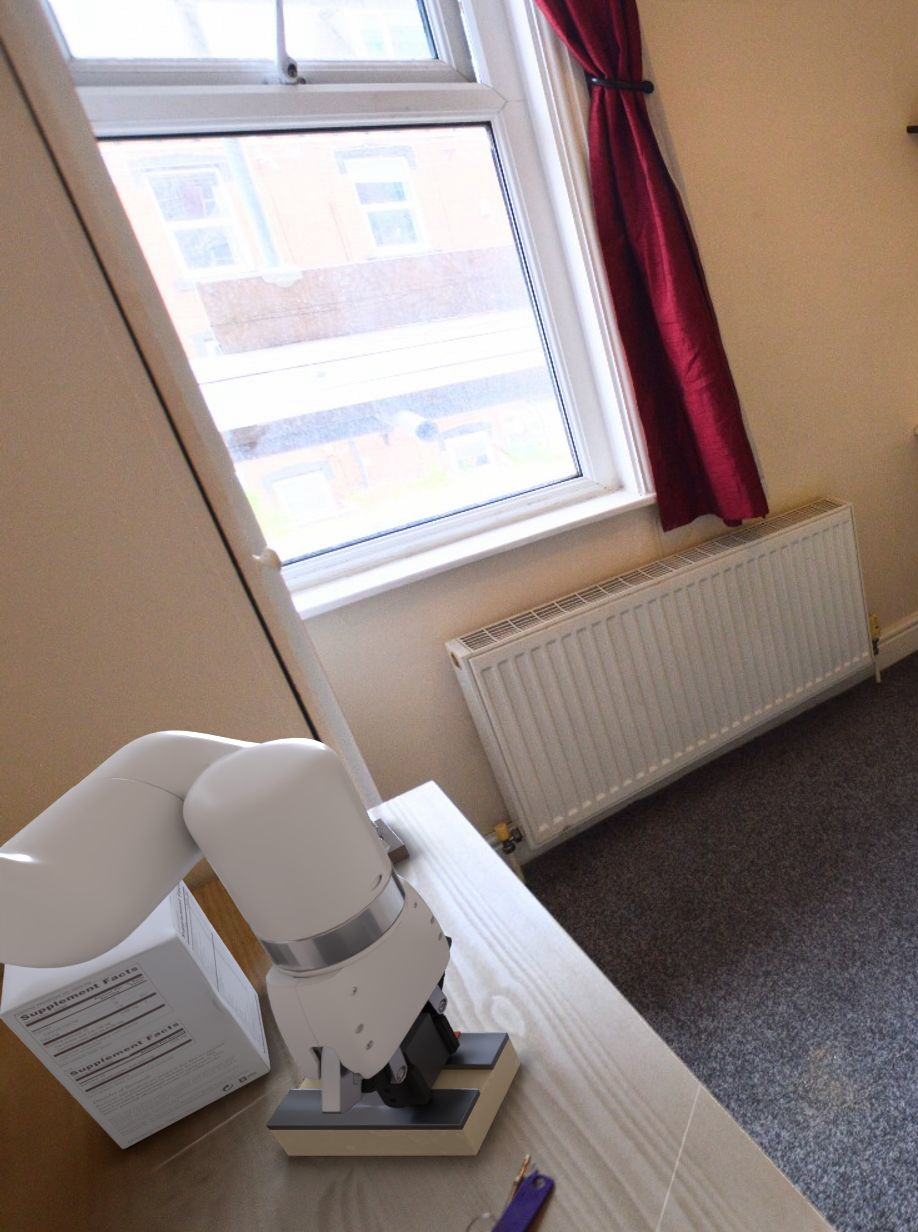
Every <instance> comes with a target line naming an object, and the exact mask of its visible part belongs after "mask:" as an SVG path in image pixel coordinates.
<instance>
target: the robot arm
mask: <svg viewBox="0 0 918 1232" xmlns="http://www.w3.org/2000/svg"><path fill="white" fill-rule="evenodd" d="M371 821H372V819H371V818H370V815H369V814H368V811H367V809H366V807H365V805H364V803H363V801H362V799H361V797H360V794H359V792H358V790H357V789H356V787H355V784H354V782H353V780H352V778H351V776H350V774H349V772H348V769H347V767H346V766H345V764H344V763H343V761H342V759H341V757H340V756H339V754H338V753H337V752H336V750H334V749H333V748H331V747H330V746H329V745H327V744H326V743H323V742H320V741H318V740H315V739H310V738H301V737H297V738H296V737H292V738H279V739H275V740H270V741H266V742H262V743H259V742H252V741H245V740H240V739H234V738H229V737H224V736H218V735H215V734H214V735H213V734H208V733H202V732H195V731H187V730H164V731H162V730H161V731H156V732H152V733H149V734H146V735H143V736H140V737H138V738H136V739H134V740H132V741H130V742H128V743H127V744H125V745H124V746H122V747H121V748H119V749H118V750H116V752H114V753H113V754H112V755H111V756H110V757H108V758H107V759H106V760H105V761H103V762H102V763H101V764H100V765H99V766H97V767H96V768H95V769H94V770H93V771H92V772H91V773H89V774H88V775H86V777H85V778H83V779H81V781H80V782H78V783H77V784H76V785H75V786H72V787H71V788H70V789H69V790H67V791H66V792H65V793H64V794H62V795H61V796H60V797H59V798H58V799H56V801H54V802H53V803H52V804H51V805H49V806H48V807H47V808H45V810H43V811H42V812H41V813H40V814H38V815H37V816H36V817H35V818H34V819H32V820H31V821H30V822H29V823H28V824H27V825H26V826H24V827H23V828H22V829H21V830H19V831H18V832H17V833H16V834H14V835H13V836H12V837H11V838H10V839H9V840H7V841H6V842H5V843H3V844H2V846H0V964H4V965H5V964H8V965H15V966H21V967H29V968H61V967H68V966H72V965H77V964H81V963H84V962H87V961H90V960H92V959H95V958H97V957H99V956H101V955H103V954H105V953H107V952H108V951H110V950H112V949H113V948H115V947H116V946H118V945H119V944H120V943H121V942H123V941H124V940H125V939H126V938H127V937H128V936H130V935H131V934H132V933H133V932H134V931H135V930H136V929H137V928H138V927H139V926H140V925H141V924H142V923H143V922H144V921H145V920H146V919H147V918H148V916H149V915H150V914H151V913H152V912H153V911H154V910H155V909H156V908H157V907H158V905H159V904H160V903H161V902H162V901H163V900H164V899H165V898H166V897H167V896H168V895H169V894H170V892H171V891H172V890H173V889H174V888H175V887H176V886H177V885H178V884H179V883H180V882H181V880H184V878H185V877H187V875H188V874H189V873H190V872H191V871H192V870H193V869H194V867H195V866H196V865H197V864H198V863H199V862H200V861H201V860H204V859H206V861H207V862H208V864H209V865H210V867H211V868H212V870H213V872H214V873H215V875H216V876H217V878H218V879H219V881H220V883H221V884H222V886H223V887H224V889H225V890H226V892H227V894H228V895H229V896H230V898H231V900H232V902H233V903H234V905H235V907H236V908H237V910H238V911H239V913H240V914H241V916H242V918H243V920H245V922H246V924H247V925H248V927H249V929H251V931H252V933H253V934H254V936H255V938H256V939H257V941H258V942H259V945H260V946H261V947H262V949H263V950H264V952H265V954H266V955H267V957H268V958H269V960H270V961H271V963H272V966H271V967H270V969H269V970H268V972H267V973H266V976H265V983H266V990H267V996H268V999H269V1004H270V1008H271V1011H272V1014H273V1017H274V1020H275V1024H276V1025H277V1028H278V1030H279V1033H280V1035H281V1037H282V1039H283V1041H284V1043H285V1046H286V1048H287V1049H288V1051H289V1053H290V1055H291V1056H292V1059H293V1060H294V1062H295V1064H296V1065H297V1067H298V1069H299V1071H300V1072H301V1073H302V1075H303V1076H304V1077H305V1079H306V1078H308V1079H314V1080H320V1079H321V1090H322V1113H323V1114H344V1113H346V1112H347V1111H348V1110H349V1109H351V1108H352V1107H353V1106H354V1105H355V1104H356V1103H358V1102H359V1101H360V1100H361V1099H362V1096H364V1095H365V1094H366V1093H372V1092H374V1091H377V1093H378V1094H379V1096H380V1097H381V1099H382V1101H383V1102H384V1104H385V1105H386V1106H388V1107H391V1108H405V1107H406V1106H407V1105H408V1104H427V1103H428V1102H429V1100H430V1098H431V1096H432V1094H431V1090H430V1088H429V1086H428V1084H427V1083H426V1081H425V1079H424V1077H423V1075H422V1074H421V1072H420V1070H419V1068H418V1066H417V1065H415V1064H406V1061H405V1059H404V1056H403V1054H402V1051H401V1048H400V1046H399V1045H400V1044H401V1042H402V1040H403V1039H404V1037H405V1036H406V1034H407V1033H408V1031H409V1029H410V1028H411V1026H412V1025H413V1023H414V1021H415V1020H416V1018H417V1017H418V1015H419V1013H429V1014H430V1016H431V1018H432V1020H433V1022H434V1024H435V1026H436V1028H437V1030H438V1032H439V1034H440V1036H441V1038H442V1040H443V1042H444V1043H445V1045H446V1047H447V1049H448V1051H449V1053H450V1055H452V1054H453V1053H455V1052H456V1051H457V1049H458V1048H459V1046H460V1043H459V1041H458V1039H457V1037H456V1035H455V1033H454V1029H453V1028H452V1025H451V1023H450V1022H449V1019H448V1017H447V1015H446V1014H445V1011H446V1009H447V1007H448V1003H449V1001H448V997H447V996H446V994H445V993H444V992H443V988H444V982H445V976H446V969H447V967H448V965H449V963H450V960H451V947H452V945H453V938H452V937H451V936H448V935H445V932H444V930H443V929H442V927H441V924H440V923H439V920H438V919H437V917H436V916H435V914H434V912H433V911H432V909H431V908H430V906H429V905H428V902H426V900H424V898H423V897H422V895H421V894H420V893H419V891H417V890H416V888H414V886H413V885H412V884H411V883H410V882H408V881H407V879H406V878H404V877H403V876H402V875H399V874H398V872H397V870H396V869H395V867H394V865H392V862H391V861H390V859H389V857H388V855H387V852H388V851H389V849H390V844H389V843H388V842H387V841H385V840H383V839H380V838H379V836H378V834H377V832H376V830H375V827H374V825H373V823H372V822H371Z"/></svg>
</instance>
